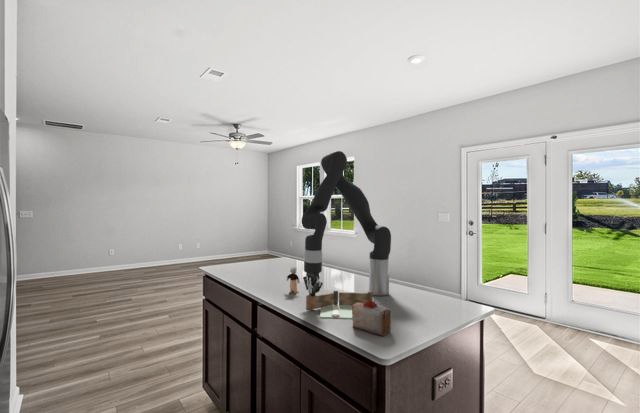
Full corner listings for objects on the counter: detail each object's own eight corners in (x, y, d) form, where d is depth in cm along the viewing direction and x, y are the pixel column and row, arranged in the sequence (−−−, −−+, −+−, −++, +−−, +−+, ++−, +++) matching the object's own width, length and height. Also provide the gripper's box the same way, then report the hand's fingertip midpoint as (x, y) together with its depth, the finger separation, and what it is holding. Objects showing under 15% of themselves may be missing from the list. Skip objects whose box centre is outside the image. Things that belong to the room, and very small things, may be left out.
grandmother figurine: (301, 292, 157) (302, 266, 157) (298, 294, 153) (299, 267, 153) (287, 290, 160) (287, 265, 159) (284, 292, 156) (284, 266, 156)
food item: (348, 327, 113) (348, 299, 113) (360, 321, 119) (360, 295, 119) (382, 338, 104) (382, 308, 104) (393, 331, 110) (394, 302, 110)
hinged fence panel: (336, 302, 138) (336, 290, 138) (339, 304, 136) (339, 291, 136) (305, 309, 129) (305, 295, 129) (307, 310, 127) (308, 297, 127)
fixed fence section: (372, 305, 137) (372, 291, 137) (372, 306, 135) (372, 292, 134) (338, 304, 137) (339, 290, 137) (338, 305, 135) (339, 291, 135)
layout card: (373, 302, 142) (373, 301, 142) (380, 319, 120) (380, 318, 120) (322, 301, 143) (322, 300, 143) (319, 318, 122) (319, 316, 122)
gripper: (329, 262, 129) (328, 304, 130) (313, 257, 141) (312, 296, 141) (313, 264, 125) (312, 307, 126) (297, 258, 137) (296, 298, 137)
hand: (312, 301), depth 133 cm, fingers closed
